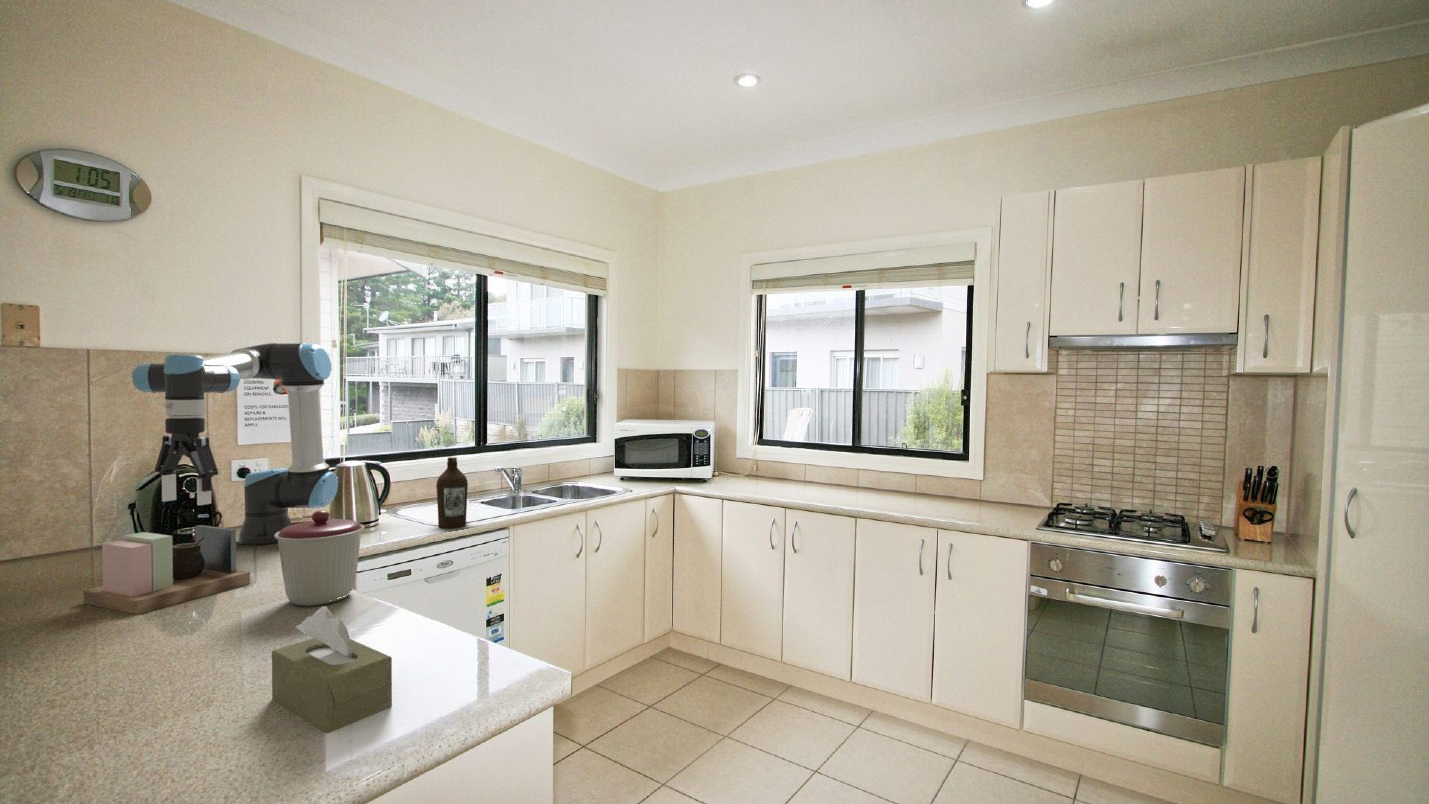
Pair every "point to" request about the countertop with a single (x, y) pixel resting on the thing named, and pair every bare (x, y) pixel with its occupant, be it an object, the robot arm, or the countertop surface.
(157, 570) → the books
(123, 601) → the wooden serving tray
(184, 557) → the mate gourd
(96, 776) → the countertop surface
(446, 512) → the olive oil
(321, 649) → the tissue box
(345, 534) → the canister
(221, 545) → the bookend
